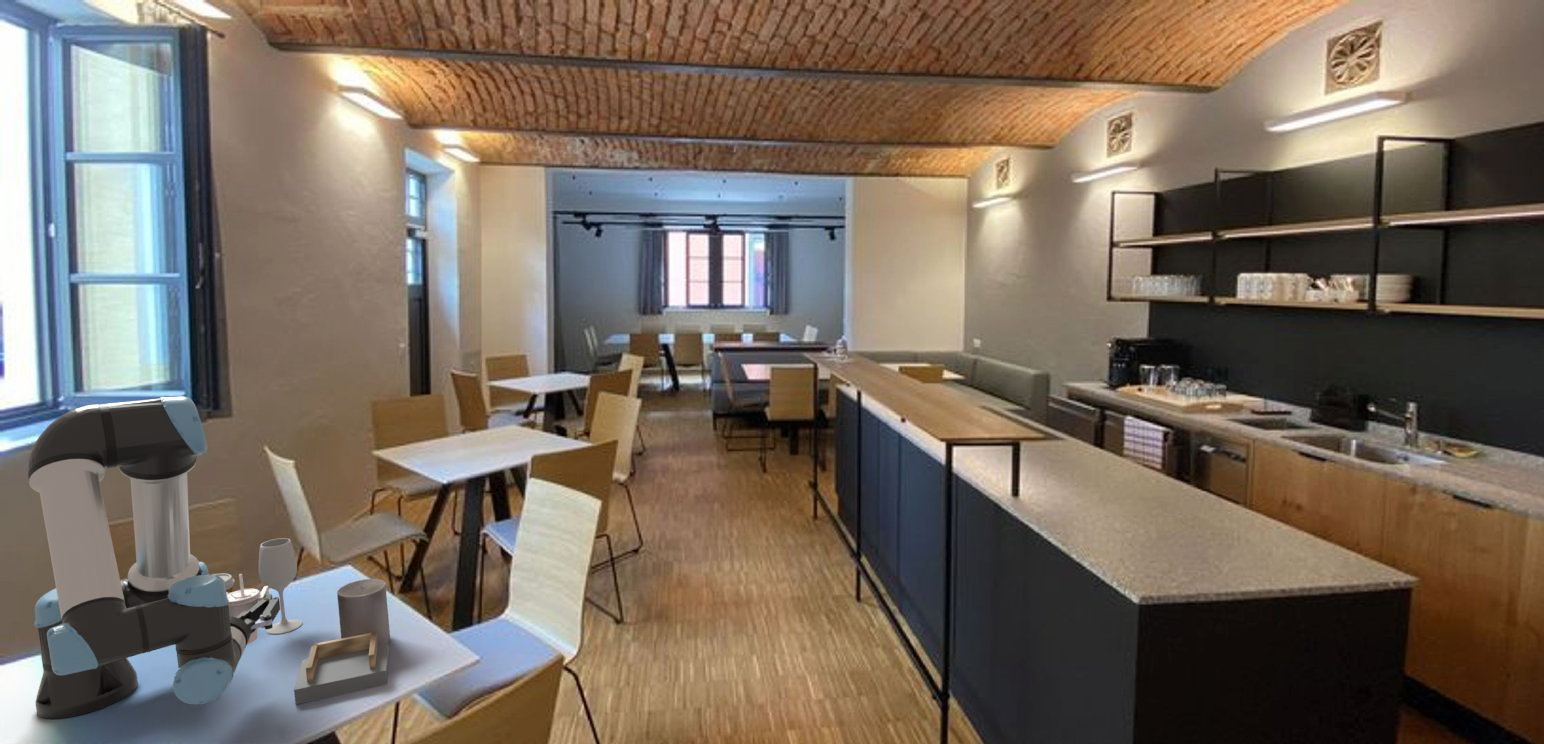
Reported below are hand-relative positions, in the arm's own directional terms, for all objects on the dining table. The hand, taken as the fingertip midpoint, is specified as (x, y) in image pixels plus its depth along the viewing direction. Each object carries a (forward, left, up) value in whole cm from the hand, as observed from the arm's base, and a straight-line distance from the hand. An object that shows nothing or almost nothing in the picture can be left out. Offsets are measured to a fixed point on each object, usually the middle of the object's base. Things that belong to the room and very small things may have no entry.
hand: (246, 595), depth 157 cm
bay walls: (+17, -9, -15) cm, 24 cm away
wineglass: (+2, +24, -18) cm, 30 cm away
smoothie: (0, -5, -8) cm, 9 cm away
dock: (+17, -10, -18) cm, 26 cm away
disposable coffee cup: (-13, +31, -18) cm, 38 cm away
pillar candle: (+20, +5, -18) cm, 28 cm away
